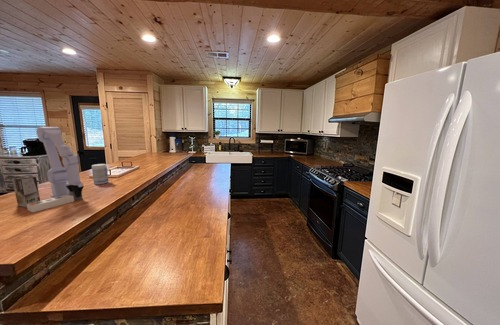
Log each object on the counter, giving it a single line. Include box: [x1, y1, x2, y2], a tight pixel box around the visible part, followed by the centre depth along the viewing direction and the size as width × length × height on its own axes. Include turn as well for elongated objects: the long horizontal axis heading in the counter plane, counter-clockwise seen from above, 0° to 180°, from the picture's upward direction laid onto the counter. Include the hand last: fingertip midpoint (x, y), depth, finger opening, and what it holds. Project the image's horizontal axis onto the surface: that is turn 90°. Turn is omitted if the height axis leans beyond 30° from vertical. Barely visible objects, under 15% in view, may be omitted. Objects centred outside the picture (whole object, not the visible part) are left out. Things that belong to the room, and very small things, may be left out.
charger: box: [69, 191, 83, 201], centre depth 124 cm, size 6×4×5 cm
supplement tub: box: [91, 163, 110, 185], centre depth 160 cm, size 10×10×15 cm
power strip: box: [26, 194, 75, 213], centre depth 115 cm, size 18×6×4 cm, turn 154°
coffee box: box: [11, 175, 41, 208], centre depth 115 cm, size 9×6×16 cm
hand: (76, 196), depth 125 cm, fingers closed on charger, 4 cm apart
